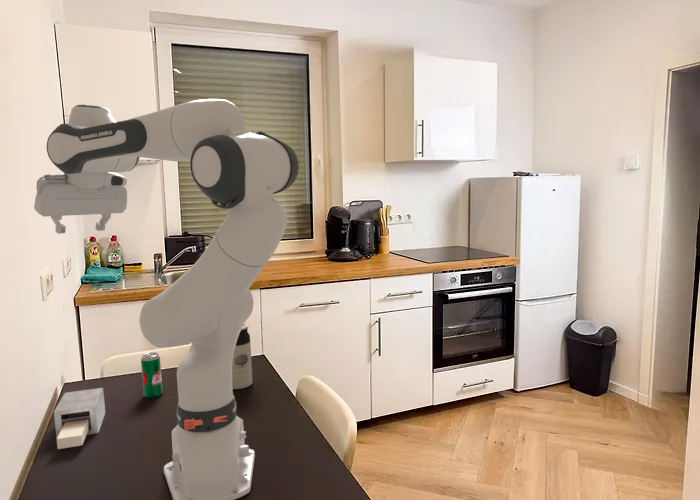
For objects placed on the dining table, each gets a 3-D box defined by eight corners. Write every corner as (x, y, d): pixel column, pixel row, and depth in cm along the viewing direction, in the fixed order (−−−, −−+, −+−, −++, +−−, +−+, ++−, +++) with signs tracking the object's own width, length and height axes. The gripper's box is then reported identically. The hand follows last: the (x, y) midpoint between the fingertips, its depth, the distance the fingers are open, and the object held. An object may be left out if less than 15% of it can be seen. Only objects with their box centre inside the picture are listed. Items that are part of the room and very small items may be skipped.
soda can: (156, 399, 146) (153, 358, 145) (140, 398, 147) (136, 357, 146) (166, 392, 151) (163, 352, 149) (150, 391, 152) (147, 351, 150)
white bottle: (224, 381, 158) (220, 324, 155) (250, 378, 160) (247, 321, 158) (226, 391, 150) (222, 331, 148) (254, 387, 153) (250, 328, 150)
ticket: (82, 445, 118) (81, 434, 118) (57, 449, 117) (56, 438, 117) (94, 415, 134) (93, 406, 133) (72, 418, 132) (71, 409, 132)
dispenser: (98, 433, 127) (95, 405, 126) (56, 439, 124) (53, 411, 123) (105, 412, 138) (103, 387, 137) (67, 418, 136) (65, 392, 135)
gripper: (44, 178, 111) (40, 239, 115) (133, 179, 127) (127, 232, 131) (30, 170, 114) (27, 229, 118) (119, 172, 130) (113, 224, 134)
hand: (80, 231), depth 125 cm, fingers open, 8 cm apart
